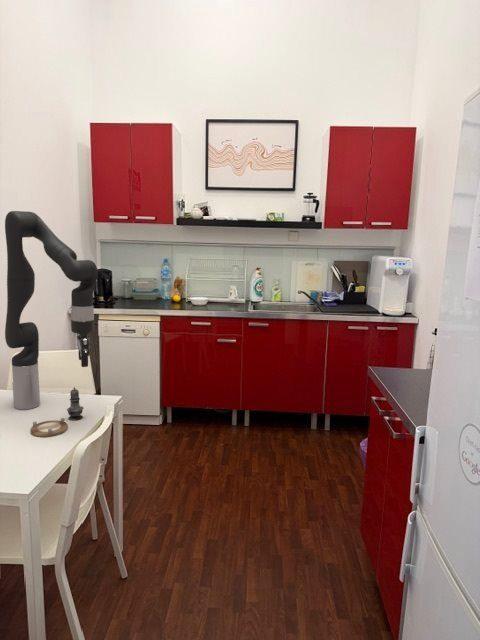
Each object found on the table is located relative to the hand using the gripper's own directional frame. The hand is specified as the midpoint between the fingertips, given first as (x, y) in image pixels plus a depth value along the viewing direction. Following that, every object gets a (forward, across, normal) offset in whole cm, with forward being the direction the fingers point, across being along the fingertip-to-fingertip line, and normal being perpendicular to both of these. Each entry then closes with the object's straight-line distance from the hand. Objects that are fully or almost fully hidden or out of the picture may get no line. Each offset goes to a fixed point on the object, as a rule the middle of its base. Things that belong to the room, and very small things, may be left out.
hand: (83, 363), depth 160 cm
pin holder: (+23, +2, -12) cm, 26 cm away
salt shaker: (+23, -6, -2) cm, 24 cm away
